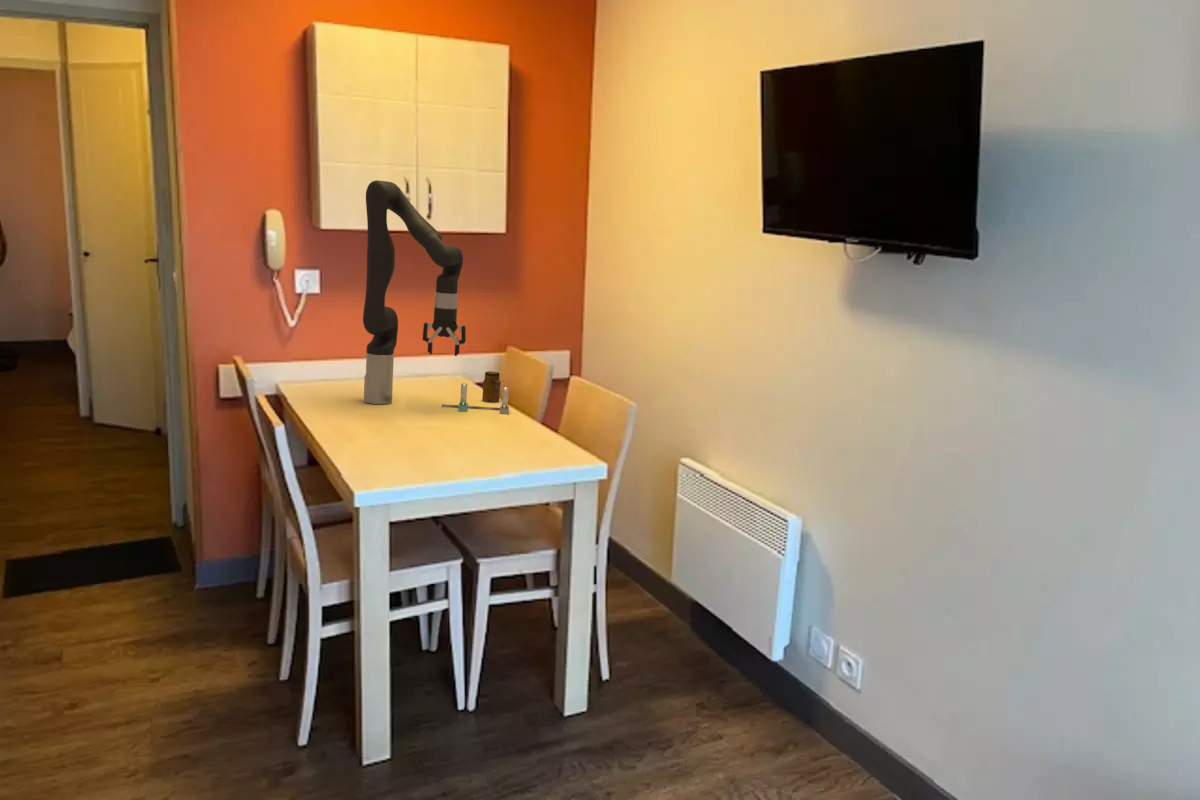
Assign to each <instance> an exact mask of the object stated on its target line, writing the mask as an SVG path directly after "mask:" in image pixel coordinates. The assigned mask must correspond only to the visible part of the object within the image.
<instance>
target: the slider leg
mask: <svg viewBox="0 0 1200 800" xmlns="http://www.w3.org/2000/svg"><path fill="white" fill-rule="evenodd" d="M467 395H468V383H464V382H463V383H461V384H460V402H459V403H458V404H457V405H458V408H457V412H463V413H466V412H468V406H469V402H467V399H468V398H467V397H468V396H467Z"/></svg>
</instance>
